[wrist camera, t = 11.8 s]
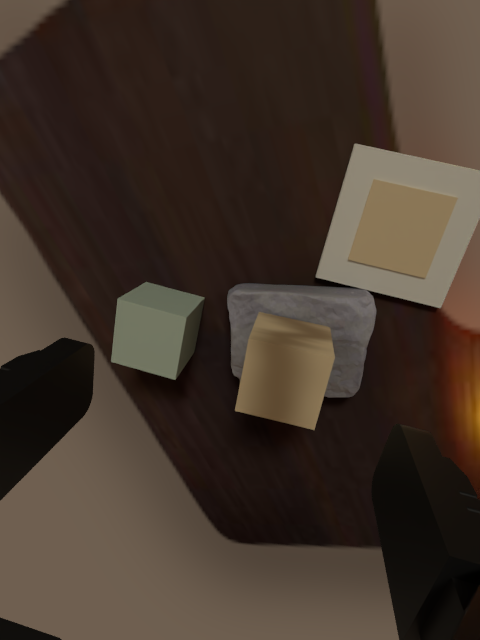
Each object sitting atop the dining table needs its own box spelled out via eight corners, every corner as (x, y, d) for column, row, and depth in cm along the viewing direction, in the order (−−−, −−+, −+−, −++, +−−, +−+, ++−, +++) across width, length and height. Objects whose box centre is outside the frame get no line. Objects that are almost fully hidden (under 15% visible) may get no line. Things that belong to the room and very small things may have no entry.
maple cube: (330, 327, 28) (335, 357, 23) (313, 389, 30) (314, 429, 25) (259, 311, 29) (248, 338, 24) (246, 373, 31) (234, 410, 26)
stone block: (361, 374, 35) (375, 277, 30) (365, 411, 31) (383, 306, 26) (237, 364, 38) (231, 272, 33) (226, 397, 34) (217, 298, 28)
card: (494, 174, 26) (499, 174, 26) (438, 305, 30) (441, 308, 29) (354, 144, 27) (355, 143, 27) (315, 275, 31) (315, 277, 30)
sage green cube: (205, 297, 33) (186, 317, 28) (194, 352, 35) (175, 380, 30) (146, 281, 34) (117, 298, 29) (139, 336, 36) (111, 361, 31)
